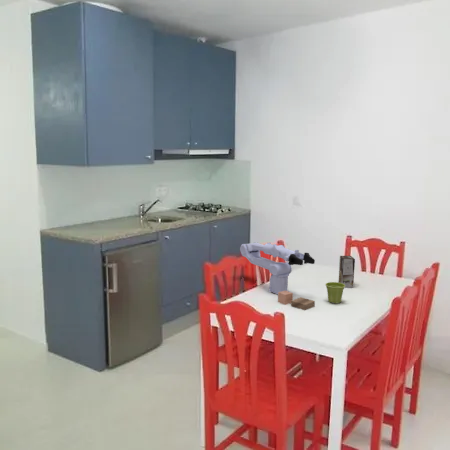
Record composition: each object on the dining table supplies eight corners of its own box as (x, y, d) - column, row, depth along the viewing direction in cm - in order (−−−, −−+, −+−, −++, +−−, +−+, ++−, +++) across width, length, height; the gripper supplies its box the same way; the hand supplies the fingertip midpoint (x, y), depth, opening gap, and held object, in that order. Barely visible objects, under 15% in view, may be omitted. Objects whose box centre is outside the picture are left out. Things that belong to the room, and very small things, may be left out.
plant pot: (330, 305, 221) (331, 288, 220) (321, 299, 230) (322, 282, 229) (347, 303, 224) (348, 286, 222) (338, 298, 233) (339, 281, 231)
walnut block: (291, 306, 219) (291, 300, 219) (300, 303, 225) (300, 297, 225) (305, 311, 214) (305, 304, 213) (314, 307, 220) (314, 301, 219)
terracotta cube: (277, 302, 225) (278, 292, 225) (285, 300, 228) (285, 290, 228) (285, 304, 221) (285, 294, 221) (292, 302, 224) (292, 293, 224)
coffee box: (353, 288, 250) (355, 259, 247) (341, 287, 250) (343, 258, 248) (349, 283, 259) (351, 255, 256) (338, 283, 259) (339, 255, 257)
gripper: (279, 248, 227) (298, 255, 216) (301, 247, 235) (320, 253, 224) (277, 262, 229) (296, 269, 218) (299, 260, 237) (318, 267, 226)
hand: (308, 262), depth 221 cm, fingers open, 7 cm apart
